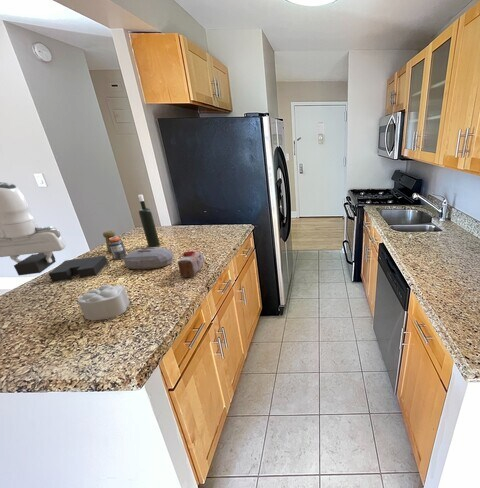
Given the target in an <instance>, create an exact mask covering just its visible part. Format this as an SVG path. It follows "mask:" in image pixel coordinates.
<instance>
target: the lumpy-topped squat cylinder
mask: <svg viewBox="0 0 480 488" xmlns="http://www.w3.org/2000/svg"><path fill="white" fill-rule="evenodd" d="M76 300H77V304H78V305H79V308H80V310H81V312H82V315H83V317H84V319H86V320H89V321H101V320H107V319H111V318H115V317H118V316H120V315H122V314H124V313H126V311H127V308H128V307H129V306H130V304H131V302H130V299H129V296H128V293H127V289H126V287H125V286H124V285H121V284H120V285H110V284H103V285H101V286H99V287H97V288H92V289H89V290H87V291H86V292H85V293H82V294H81V295H79V296H78V297H77V299H76Z"/></svg>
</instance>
